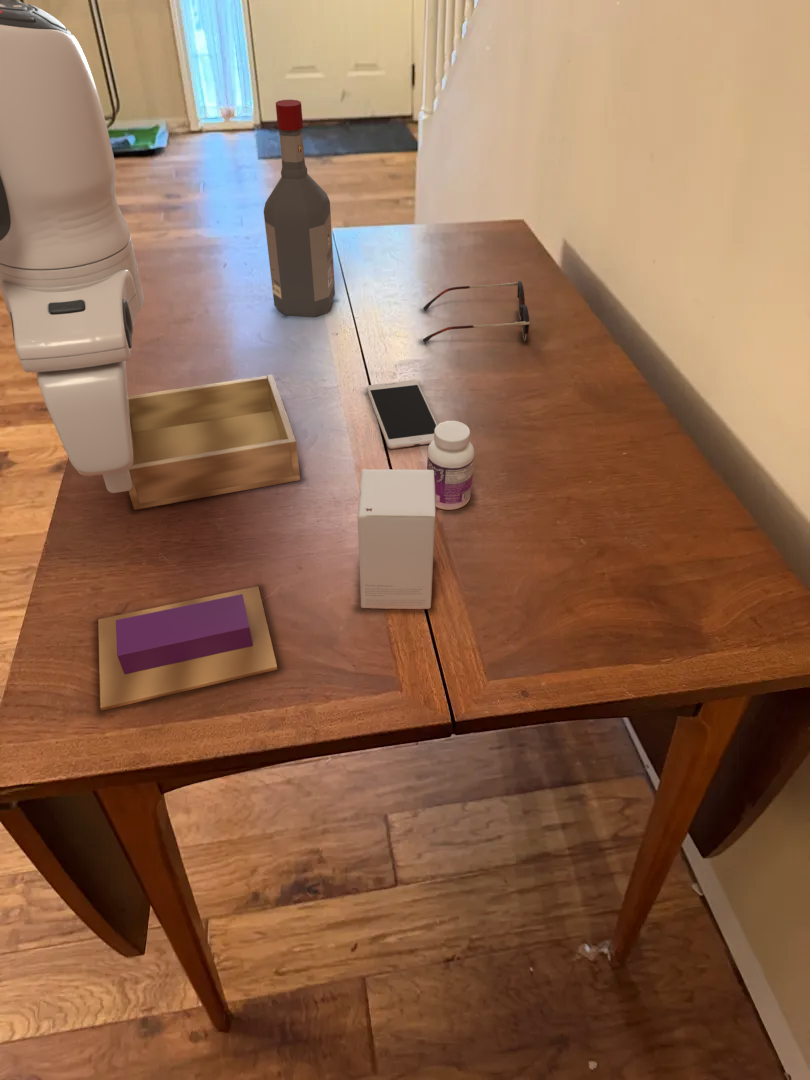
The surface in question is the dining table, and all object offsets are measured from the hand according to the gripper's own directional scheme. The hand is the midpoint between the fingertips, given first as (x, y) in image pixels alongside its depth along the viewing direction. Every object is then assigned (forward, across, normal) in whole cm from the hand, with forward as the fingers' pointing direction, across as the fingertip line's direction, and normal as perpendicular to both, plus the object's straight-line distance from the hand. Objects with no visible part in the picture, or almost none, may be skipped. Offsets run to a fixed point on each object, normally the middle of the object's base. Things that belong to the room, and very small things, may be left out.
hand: (118, 450), depth 62 cm
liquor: (+22, -66, +27) cm, 74 cm away
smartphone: (+22, -30, +33) cm, 50 cm away
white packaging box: (+22, 0, +24) cm, 32 cm away
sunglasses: (+21, -51, +51) cm, 75 cm away
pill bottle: (+22, -12, +33) cm, 41 cm away
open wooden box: (+22, -28, +7) cm, 36 cm away
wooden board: (+22, +2, +2) cm, 22 cm away
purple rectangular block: (+21, +2, +2) cm, 22 cm away
